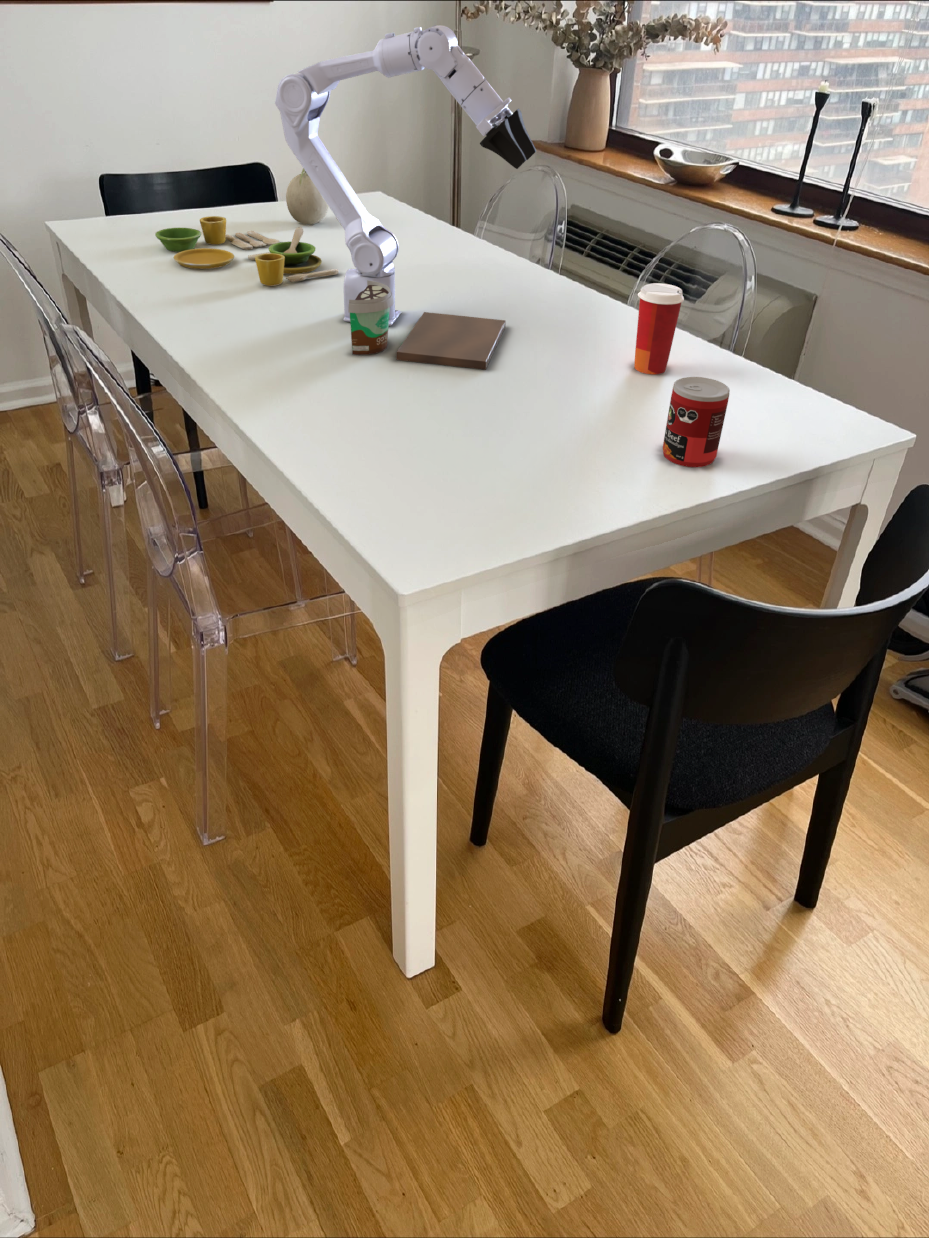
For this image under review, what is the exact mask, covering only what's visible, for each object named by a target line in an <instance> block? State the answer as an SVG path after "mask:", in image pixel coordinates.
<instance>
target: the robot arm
mask: <svg viewBox="0 0 929 1238" xmlns="http://www.w3.org/2000/svg"><path fill="white" fill-rule="evenodd" d="M425 69H427V70H430V71H433V72H434V74H435V75H436V76H437V78H438V79H439V80H440V81H441V83H442V85H443V86H444V87H445V88H446V89H447V91H448V92H449V93H450V94H451V96H452V97H453V98H454V100H455V101H456V102H457V103H458V105H459V106H460V107H461V108H462V110H463V111H464V112H465V113H466V115H467V116H468V117H469V118H470V119H471V121H472V122H473V124H475V128H476V130H477V131H478V132H479V133H480V134H481V136H482V137H484V138H483V139H482V140H481V141H480V142H479V145H480V146H481V147H482V148H484V149H487V150H488V151H491V152H493V153H494V154H496V155H497V156H499V157H500V158H501V159H503V160H504V161H505V162H506V163H508V164H509V165H510V166H511V167H513V168H514V169H516V170H518V169H520V167H522V165H524V164H525V163H526V161H528V160H529V159H530V158H531V157H532V156H534V155H535V154H536V153H537V149H536V147H535V145H534V142H533V141H532V139H531V136H530V135H529V133H528V130H527V129H526V128H527V127H526V125H525V122H524V118H523V113H522V111H521V109H520V108H516V110H514V112H513V111H512V110H511V109H510V108H509V104H510V103H511V102H512V99H511V97H510V96H509V97H507V98H505V99H504V100H503V99H502V98H501V96H500V95H499V94H498V93H497V91H496V90H495V89H494V88H493V87H492V85H491V84H490V83H489V81H488V80H487V79H486V77H485V76H484V75H483V74H482V72H481V71H480V69H478V67H477V66H476V64H474V62H473V61H472V59H470V57H469V56H467V55H466V53H465V52H464V50H463V49H462V48H461V47H460V46H459V41H458V38H457V36H456V34H455V32H454V30H453V29H451V28H450V27H448V26H446V25H440V24H439V25H436V24H435V25H432V26H429V27H427V28H425V29H424V30H423V28H422V26H417V27H414V28H413V31H409V32H405V33H401V34H397V35H396V32H394V31H391V32H387V33H385V34H384V38H380V39H379V40H378V42H377V44H376V46H375V47H374V49H373V50H368V51H363V52H358V53H353V54H349V55H343V56H337V57H332V58H328V59H324V60H321V61H318V62H316V63H314V64H311V65H309V66H306V67H304V68H302V69H300V70H298V71H297V72H296V73H289V74H286V75H285V76H283V77H282V78H281V79H280V80H279V83H278V85H277V87H276V88H277V89H276V93H275V100H274V104H275V106H276V107H277V109H278V111H279V113H280V114H279V115H280V119H281V124H282V130H283V134H284V139H285V142H286V144H287V146H288V147H289V149H290V150H291V152H292V153H293V155H294V157H295V158H296V160H297V161H298V162H299V164H300V165H301V167H302V169H303V168H304V170H305V171H306V173H307V174H308V176H309V177H310V179H311V180H312V182H313V183H314V185H315V186H316V188H317V189H318V191H319V192H320V194H321V195H322V197H323V198H324V200H325V201H326V203H327V204H328V206H329V209H330V210H331V212H332V214H333V215H334V217H335V218H336V219H337V221H338V223H339V224H340V226H341V228H342V229H343V230H344V242H345V246H346V247H347V249H348V250H349V252H350V257H351V261H352V265H353V266H354V267H355V268H348V269H347V270H346V271H345V274H344V279H343V310H344V311H343V312H344V317H343V321H344V322H348V323H350V313H349V300H355V299H356V297H357V296H358V294H359V293H360V292H361V291H363V290H365V289H366V287H367V280H368V281H375V282H379V283H382V284H384V285H386V286H388V287H389V288H390V291H391V293H392V296H393V301H394V303H393V305H392V306H391V307H390V310H389V325H388V327H391V326H393V325H394V323H395V322H396V321H397V319H398V318H399V316H400V315H401V313H402V311H401V310H399V309H398V310H397V309H396V268H395V265H394V261H395V259H396V258H397V257H398V254H399V251H400V246H399V241H398V238H397V236H396V235H395V234H394V233H393V232H392V231H391V230H389V229H387V228H386V227H385V226H384V225H383V224H382V222H381V221H380V219H379V218H377V217H375V216H374V215H372V214H370V213H369V212H368V210H367V209H366V207H365V205H364V204H363V203H362V201H361V200H360V198H359V196H358V194H357V193H356V192H355V190H354V189H353V187H352V186H351V184H350V183H349V181H348V179H347V178H346V176H345V175H344V173H343V172H342V170H341V168H340V167H339V166H338V164H337V162H336V161H335V160H334V158H333V156H332V155H331V153H330V152H329V150H328V149H327V147H326V146H325V144H324V142H323V141H322V139H321V138H320V137H319V134H318V132H319V127H320V120H321V116H322V114H323V112H324V111H325V108H326V106H327V105H328V103H329V101H330V98H331V91H333V90H335V89H336V88H337V87H338V85H339V83H340V81H344V80H348V79H351V78H356V77H359V76H363V75H367V74H370V73H371V74H372V73H374V72H378V73H380V74H382V75H383V76H384V77H386V78H388V79H389V78H394V77H398V76H402V75H407V74H411V73H416V72H421V71H423V70H425Z"/></svg>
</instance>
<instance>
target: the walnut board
mask: <svg viewBox="0 0 929 1238" xmlns="http://www.w3.org/2000/svg"><path fill="white" fill-rule="evenodd" d="M506 322H507V321H506V319H495V318H485V317H478V316H477V317H476V316H466V315H455V314H447V313H437V312H427V311H424V312H423V313H422V314H421V316H420V318H419V319H418V320H417V322H416V323H415V324H414V326H413V328H412V329H411V330H410V331H409V333H408V335H407V336H406V338H405V339H404V340H403V342H402V344H401V345H400V346H399V348H398V349H397V351H396V353H395V355H396V356H395V357H396V358H395V359H396V361H402V362H412V363H420V364H421V363H422V364H430V365H439V366H447V367H456V368H465V369H475V370H483V371H484V370H487V368H488V366H489V363H490V362H491V360H492V357H493V355H494V353H495V351H496V348H497V347H498V344H499V342H500V340H501V338H502V336H503V334H504V332H505V330H506V324H507V323H506Z"/></svg>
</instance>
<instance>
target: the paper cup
mask: <svg viewBox="0 0 929 1238" xmlns="http://www.w3.org/2000/svg"><path fill="white" fill-rule="evenodd" d="M637 297H638V298H639V303H638V315H637V317H638V318H637V328H636V340H635V351H634V364H633V365H634V369H635V370H636V371H637V372H638V373H642V374H646V375H662V374H664V373H665V372H666V370H667V367H668V363H669V359H670V355H671V351H672V346H673V342H674V337H675V332H676V328H677V325H678V320H679V316H680V311H681V306H682V303H683V302H684V300H685V297H684V296H683V289H682V288H680V287H678V286H676V285H674V284H673V285H672V284H668V283H663V282H662V283H659V282H653V283H647V284H645V285H643V286H642V287H641V288H640V292H638V293H637Z"/></svg>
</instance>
